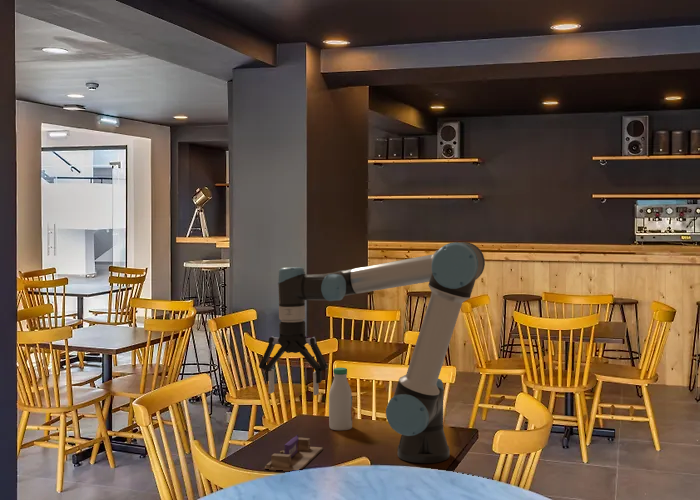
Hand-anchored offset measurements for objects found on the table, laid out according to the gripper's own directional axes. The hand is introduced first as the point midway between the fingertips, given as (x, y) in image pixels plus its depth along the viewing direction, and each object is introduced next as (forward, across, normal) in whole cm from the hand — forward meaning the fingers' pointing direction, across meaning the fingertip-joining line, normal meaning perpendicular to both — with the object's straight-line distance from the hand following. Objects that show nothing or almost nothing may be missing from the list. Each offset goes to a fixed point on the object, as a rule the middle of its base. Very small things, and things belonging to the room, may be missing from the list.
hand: (293, 393), depth 223 cm
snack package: (+18, -1, -1) cm, 19 cm away
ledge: (+19, 0, -1) cm, 19 cm away
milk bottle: (+19, +4, +35) cm, 40 cm away
